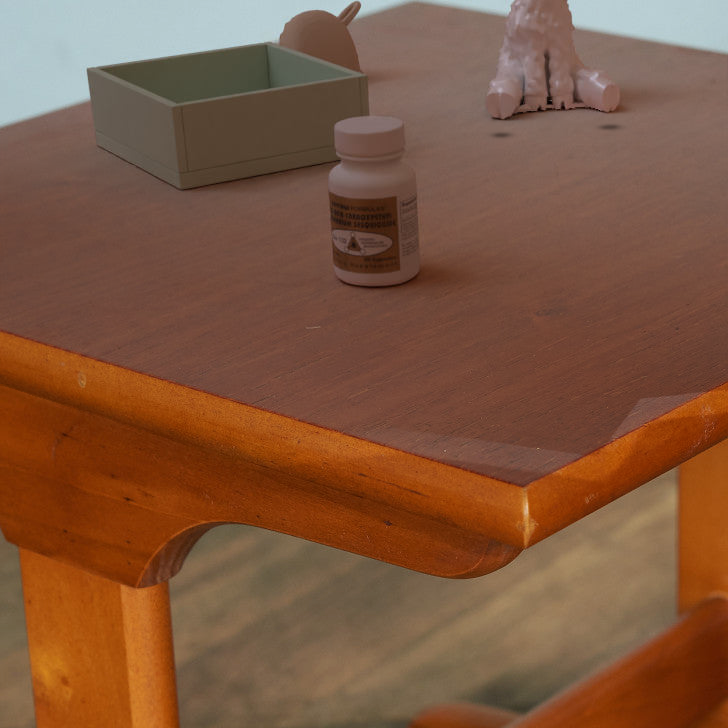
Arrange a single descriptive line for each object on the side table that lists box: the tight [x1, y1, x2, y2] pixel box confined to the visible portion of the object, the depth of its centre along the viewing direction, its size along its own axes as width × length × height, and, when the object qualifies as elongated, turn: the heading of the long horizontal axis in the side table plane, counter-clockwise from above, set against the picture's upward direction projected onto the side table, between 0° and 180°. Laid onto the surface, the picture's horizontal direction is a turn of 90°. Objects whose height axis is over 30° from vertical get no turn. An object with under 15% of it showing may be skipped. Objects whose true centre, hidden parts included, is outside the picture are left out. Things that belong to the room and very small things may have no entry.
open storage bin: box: [86, 41, 371, 190], centre depth 107 cm, size 13×13×5 cm
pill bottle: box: [327, 115, 421, 287], centre depth 84 cm, size 4×4×8 cm
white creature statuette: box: [485, 0, 621, 120], centre depth 115 cm, size 10×9×12 cm
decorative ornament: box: [278, 0, 365, 74], centre depth 123 cm, size 4×8×5 cm, turn 133°
